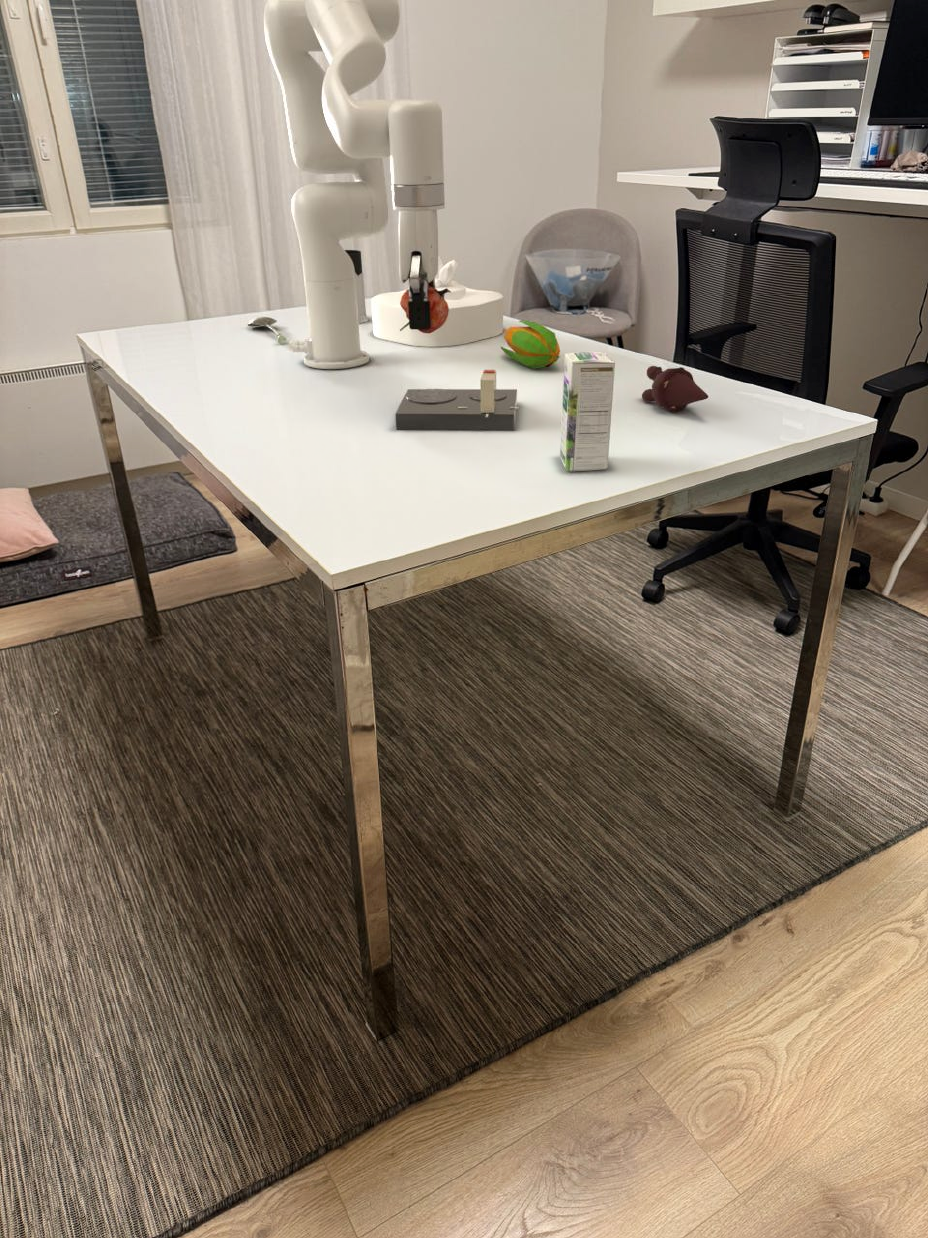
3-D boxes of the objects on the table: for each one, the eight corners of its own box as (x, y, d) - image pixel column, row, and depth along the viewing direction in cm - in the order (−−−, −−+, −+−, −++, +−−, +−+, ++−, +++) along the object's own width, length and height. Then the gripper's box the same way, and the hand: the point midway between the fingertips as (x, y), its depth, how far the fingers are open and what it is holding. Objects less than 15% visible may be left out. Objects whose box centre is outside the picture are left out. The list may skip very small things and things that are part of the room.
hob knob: (494, 412, 139) (493, 378, 136) (480, 412, 139) (480, 377, 136) (496, 403, 143) (496, 369, 141) (483, 403, 143) (483, 369, 141)
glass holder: (326, 324, 212) (319, 254, 205) (343, 312, 224) (337, 246, 217) (362, 324, 211) (357, 254, 204) (378, 312, 223) (374, 246, 216)
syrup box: (558, 458, 128) (562, 352, 121) (600, 456, 128) (606, 350, 121) (566, 472, 123) (570, 362, 116) (609, 470, 123) (616, 360, 116)
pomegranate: (401, 351, 141) (449, 312, 135) (375, 310, 140) (422, 269, 135) (423, 347, 147) (469, 309, 142) (398, 307, 146) (444, 268, 141)
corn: (535, 331, 164) (489, 312, 180) (531, 375, 167) (487, 352, 184) (571, 330, 166) (523, 311, 183) (567, 373, 170) (520, 350, 186)
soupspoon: (274, 327, 213) (246, 331, 211) (272, 312, 212) (243, 316, 210) (297, 342, 195) (267, 346, 193) (295, 325, 194) (264, 330, 192)
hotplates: (403, 403, 144) (403, 402, 144) (410, 389, 151) (410, 388, 151) (505, 403, 143) (505, 402, 143) (507, 389, 150) (507, 388, 150)
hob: (394, 433, 139) (393, 415, 138) (408, 404, 153) (407, 388, 152) (518, 433, 138) (518, 416, 137) (521, 404, 152) (521, 388, 150)
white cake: (440, 316, 217) (438, 242, 210) (518, 330, 202) (519, 252, 194) (357, 333, 202) (351, 255, 194) (435, 350, 186) (432, 266, 179)
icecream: (731, 375, 140) (668, 364, 152) (694, 369, 136) (632, 358, 149) (719, 421, 142) (658, 406, 154) (683, 416, 138) (623, 401, 151)
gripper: (401, 193, 141) (407, 312, 150) (383, 203, 126) (390, 335, 135) (450, 192, 141) (453, 312, 149) (437, 202, 125) (441, 335, 134)
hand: (423, 322), depth 142 cm, fingers closed on pomegranate, 7 cm apart
